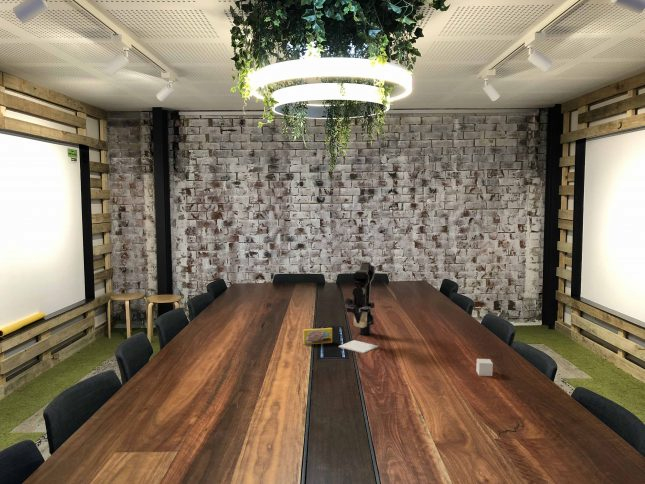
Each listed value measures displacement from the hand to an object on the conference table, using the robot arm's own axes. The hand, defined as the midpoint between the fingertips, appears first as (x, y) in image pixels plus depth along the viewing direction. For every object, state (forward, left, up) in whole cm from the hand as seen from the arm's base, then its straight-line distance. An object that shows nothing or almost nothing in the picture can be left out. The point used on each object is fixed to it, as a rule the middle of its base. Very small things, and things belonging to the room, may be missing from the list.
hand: (360, 322), depth 272 cm
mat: (+4, +2, -12) cm, 13 cm away
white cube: (-2, +69, -13) cm, 70 cm away
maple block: (0, 0, -2) cm, 2 cm away
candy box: (+13, -19, -13) cm, 27 cm away
